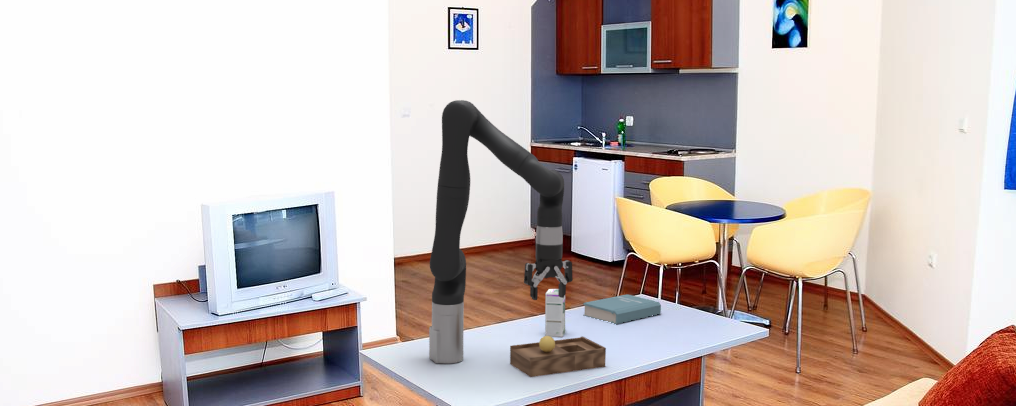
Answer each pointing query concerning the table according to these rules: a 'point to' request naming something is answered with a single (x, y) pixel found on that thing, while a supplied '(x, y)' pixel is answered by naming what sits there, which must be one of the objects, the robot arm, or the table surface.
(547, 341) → the ball
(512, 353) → the wooden tray with hole
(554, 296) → the syrup box
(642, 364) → the table surface
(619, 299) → the book
